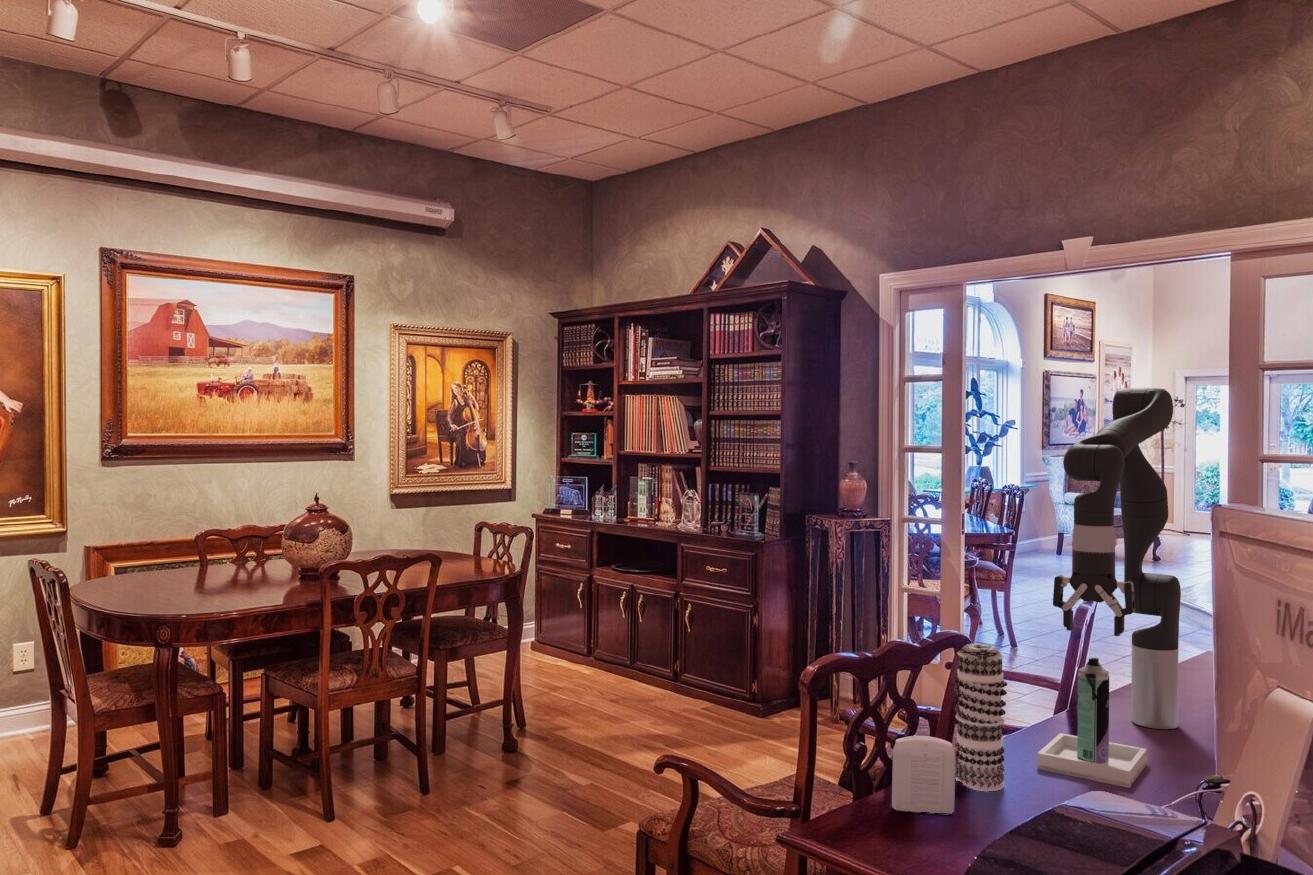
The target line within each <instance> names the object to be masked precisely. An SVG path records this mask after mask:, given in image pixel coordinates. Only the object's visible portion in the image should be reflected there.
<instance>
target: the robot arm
mask: <svg viewBox="0 0 1313 875" xmlns="http://www.w3.org/2000/svg"><path fill="white" fill-rule="evenodd" d="M1173 414H1174V402H1173V398H1172V395H1171V393H1170V392H1169V391H1167V390H1166V389H1163V388H1158V387H1157V388H1156V387H1144V388H1143V387H1141V388H1140V387H1139V388H1138V387H1137V388H1136V387H1135V388H1133V387H1132V388H1120V389H1118V390H1117V391H1116V392H1115V393H1114V396H1113V399H1112V421H1111V422H1108V423H1107V424H1105V425H1103V426H1102V427H1101V429H1100V430H1098V431H1097V432H1096V433H1095V434H1094V435H1091V436H1089V437H1086V438H1083V439H1081V440H1078V441H1077V442H1075V443H1073V444H1072V445H1071V446H1070V447H1069V448H1068V449H1067V451H1066V452H1065V454H1064V457H1063V464H1062V465H1063V469H1064V471H1065V474H1066V475H1067V476H1068V477H1069V478H1070V479H1073V480H1075V481H1080V482H1100V484H1099V486H1098V488H1097V489H1096V490H1095V491H1093V492H1086V493H1085V492H1084V493H1080V494H1078V495H1076V496H1075V497H1074V501H1073V530H1072V535H1071V536H1072V537H1071V538H1072V539H1071V540H1072V541H1071V550H1072V552H1071V555H1072V556H1071V558H1072V559H1071V562H1072V563H1071V566H1072V567H1071V576H1069V577H1068V576H1064V575H1062V574H1059V575H1056V576H1055V577H1054V582H1053V592H1052V594H1053V595H1052V596H1053V597H1052V605H1053V607H1055V608H1059V609H1061V610H1062V613H1063V614H1062V616H1063V618H1062V625H1063V626H1064V628H1066V631H1069V632H1071V631H1073V629H1074V610H1072V609H1073V607H1074V606H1075V605H1076V604H1077V603H1078V602H1079V601H1080V600H1082V601H1084V602H1095V603H1103V602H1105V604H1106V605H1107V607H1108V608H1110V609H1111V610H1112V612H1113V613H1114V615H1115V616H1113V617H1114V619H1113V620H1114V621H1113V622H1114V624H1113V625H1114V626H1113V627H1114V628H1113V629H1114V630H1113V635H1114V636H1115V637H1120V636H1122V634H1123V633H1124V631H1125V618H1126V615H1127V616H1128V615H1129V616H1130V615H1132V614H1137V615H1139V614H1140V615H1145V616H1155V617H1160V622H1159V623H1158V624H1155V625H1153V626H1149V627H1146V628H1139V629H1136V630H1134V631H1132V632H1131V633H1132V634H1131V692H1130V693H1131V695H1130V696H1131V702H1130V703H1131V704H1130V706H1131V707H1130V708H1131V709H1130V710H1131V711H1130V713H1131V715H1130V716H1131V717H1130V718H1131V720H1130V721H1131V722H1132V723H1134V724H1135V725H1138V726H1142V727H1145V728H1149V729H1155V730H1158V729H1159V730H1173V729H1174V730H1175V729H1176V728H1178V727H1179V639H1180V638H1179V637H1180V634H1179V633H1180V613H1181V612H1180V610H1181V609H1180V608H1181V600H1182V599H1181V596H1182V592H1181V583H1180V581H1179V578H1177V577H1176V576H1175V575H1170V574H1162V573H1149V572H1143V562H1144V559H1145V556H1146V555H1147V552H1148V551H1149V549H1150V547H1151V546H1152V544H1153V543H1154V542H1155V540H1156V539H1157V538H1158V536H1159V535H1160V534H1161V532H1162V531H1163V529H1165V527H1166V524H1167V522H1168V520H1169V500H1168V498H1169V497H1168V490H1167V487H1166V484H1165V482H1164V480H1163V479H1162V478H1161V476H1160V475H1159V474H1158V472H1157V471H1156V470H1155V469H1154V467H1153V466H1152V464H1151V463H1150V462H1149V461H1148V459H1147V458H1146V457H1145V455H1144V454H1143V452H1142V450H1141V447H1140V444H1141V443H1143V442H1144V441H1147V439H1150V438H1152V437H1153V436H1155V435H1157V434H1158V433H1161V432H1162V431H1164V430H1165V429H1166V428H1168V427H1169V426H1170V423H1171V422H1172V419H1173V416H1174V415H1173ZM1119 486H1120V491H1119V494H1120V495H1119V496H1120V499H1119V500H1120V511H1121V521H1122V531H1123V543H1124V544H1123V546H1124V547H1123V548H1124V549H1123V550H1124V566H1123V567H1124V569H1123V571H1124V573H1123V574H1124V576H1123V577H1124V578H1123V581H1118V580H1117V578H1116V534H1115V501H1116V497H1117V492H1118V489H1119ZM1068 584H1069V585H1070V586H1071V588H1072V589H1073V590H1074V592H1073V594H1072V595H1071V596H1070V597H1069V598H1068V600H1067V601H1064V599H1063V598H1064V588H1066V587H1067V586H1068ZM1117 588H1118V589H1120V592H1121V593H1122V594H1123V595H1124V605H1125V606H1124V607H1123V606H1122V605H1121V604H1120V603H1119V600H1118V599H1117V598H1116V596H1115V595H1114V594H1113V593H1114V592H1115V591H1116V590H1117Z"/></svg>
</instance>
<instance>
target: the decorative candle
mask: <svg viewBox="0 0 1313 875" xmlns="http://www.w3.org/2000/svg"><path fill="white" fill-rule="evenodd" d="M956 655H958V668H957V671H956V673H955V675H953V682H954V683H955V686H954V688H953V691H954V694H955V695H954V701H955V703H956V706H955V707H954V711H955V713H956V714H955V718H956V720H957V722H958V723H957V729H958V730H957V733H956V742H955V744H954V745H955V746H954V747H955V748H956V749H957V750H956V751H954V753H955V758H956V757H957V758H956V759H955V779H956V781H960V782H962V783H963V785H965V786H967V787H969V788H973V789H977V790H983V791H997V790H1000V789H1002V788H1003V787H1004V788H1005V784H1004V782H1003V781H1005V775H1004V772H1005V770H1006V769H1005V766H1004V765H1003V762H1004V761H1005V756H1004V755H1003V754H1004V753H1005V747H1004V740H1003V739H1004V738H1003V736H1002V732H1003V725H1004V723H1005V720H1006V719H1005V718H1004V717H1003V716H1004V715H1006V710H1005V709H1003V707H1005V706H1006V705H1007V702H1006V701H1005V700H1003V699H1002V697H1004V696H1005V695H1007V694H1008V693H1007V691H1006V689H1004V688H1005V687H1007V685H1008V682H1006V681H1005V680H1004V672H1003V658H1004V657H1005V656H1004V655H1003V654H1002V653H1000V652H999V650H998V648H997V647H995V646H994V645H990V644H985V643H967V644H964V646H962V648H961V649H960V650H959V651H957V652H956ZM1004 788H1003V789H1004ZM1003 789H1002V790H1003ZM1000 791H1001V790H1000ZM997 792H998V791H997Z"/></svg>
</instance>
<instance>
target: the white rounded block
mask: <svg viewBox="0 0 1313 875" xmlns="http://www.w3.org/2000/svg"><path fill="white" fill-rule="evenodd" d="M955 754H956V753H955V750H954V745H953V744H952V742H950V741H948V740H945V739H944V738H938V737H934V736H930V735H929V736H928V735H911V736H905V737H904V736H903V737H901V738H897V739H895V744H894V745H893V749H892V773H891V774H892V780H891V807H892V809H894V810H895V811H901V812H909V811H910V812H911V813H921V812H929V813H928V814H934V813H949V814H950V813H951V814H952V813H953V812H954V813H955V797H956V796H955V792H956V791H955V790H956V786H955V785H956V782H955V779H956V775H955V770H956V766H955V761H956V755H955ZM954 813H953V814H954ZM949 814H948V815H949ZM953 814H952V815H953Z"/></svg>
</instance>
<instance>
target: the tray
mask: <svg viewBox="0 0 1313 875" xmlns="http://www.w3.org/2000/svg"><path fill="white" fill-rule="evenodd" d="M1077 736H1078V735H1073V734H1067V733H1062V732H1060V733H1058V734H1057V735H1056V736H1055V737H1054V738H1053V739H1051V741H1049V742H1048V743H1047V744H1046V745H1045V746H1044V747H1042V749H1040V750H1039V751H1038V752H1037V760H1036V761H1037V762H1036V763H1037V765H1036V766H1037V770H1042V771H1046V772H1051V773H1055V774H1061V775H1064V776H1065V775H1066V776H1069V777H1074V778H1079V779H1084V780H1087V781H1088V780H1090V781H1093V782H1099V783H1103V784H1109V785H1114V786H1119V787H1124V788H1128V789H1130V788H1131V787H1132V785H1133V784H1134V783H1135V781H1136V780H1137V778H1139V776H1140V775H1141V773H1142V772H1143V770H1144V769H1145V768H1146V767H1147V765H1148V748H1144V747H1137V746H1134V745H1127V744H1122V743H1121V744H1120V743H1117V742H1116V743H1115V742H1112V741H1111V742H1110V741H1109V763H1108V765H1104V764H1098V763H1093V762H1088V761H1083V760H1078V759H1077Z"/></svg>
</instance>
